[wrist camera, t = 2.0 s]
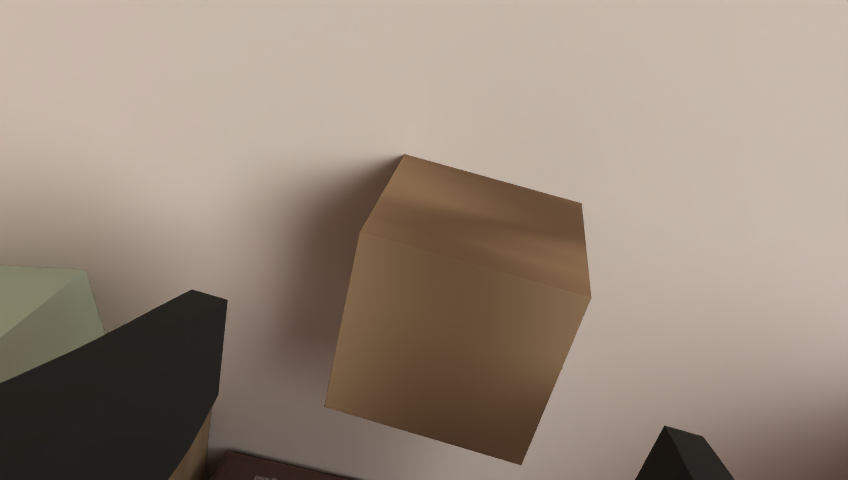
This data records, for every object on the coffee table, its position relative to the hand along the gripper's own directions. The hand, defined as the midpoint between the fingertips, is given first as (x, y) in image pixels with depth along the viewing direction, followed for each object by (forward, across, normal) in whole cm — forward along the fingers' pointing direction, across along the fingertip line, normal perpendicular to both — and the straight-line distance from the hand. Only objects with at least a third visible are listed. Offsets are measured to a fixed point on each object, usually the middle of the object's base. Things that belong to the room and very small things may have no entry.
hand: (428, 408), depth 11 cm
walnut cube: (+6, 0, 0) cm, 6 cm away
